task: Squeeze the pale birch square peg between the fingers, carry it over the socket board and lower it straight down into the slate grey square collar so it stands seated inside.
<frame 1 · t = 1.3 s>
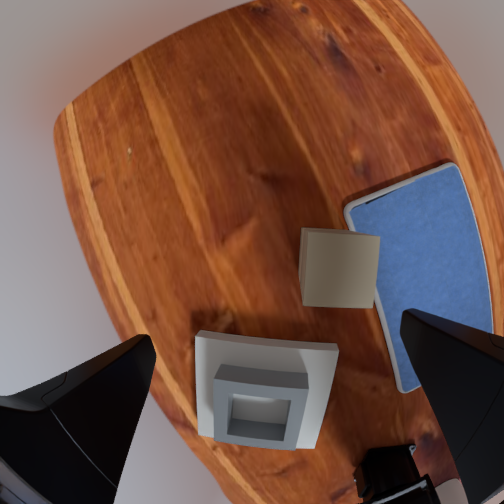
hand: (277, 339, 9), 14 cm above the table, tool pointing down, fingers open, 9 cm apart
socket board: (262, 393, 24), on the table
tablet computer: (433, 282, 21), on the table
peg: (322, 251, 22), on the table
cylindrical container: (440, 491, 23), on the table
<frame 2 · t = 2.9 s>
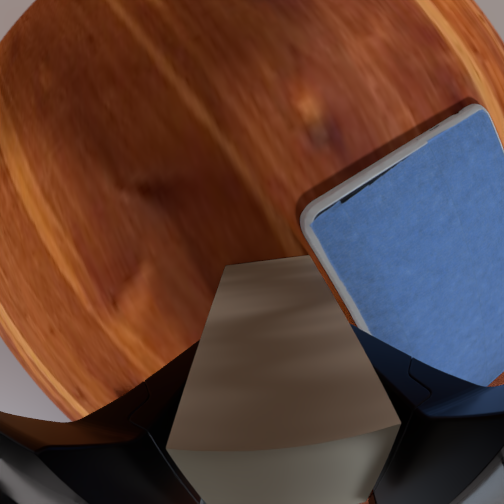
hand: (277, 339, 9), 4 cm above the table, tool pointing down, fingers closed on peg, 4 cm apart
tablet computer: (458, 298, 13), on the table
peg: (272, 298, 12), on the table, touching gripper
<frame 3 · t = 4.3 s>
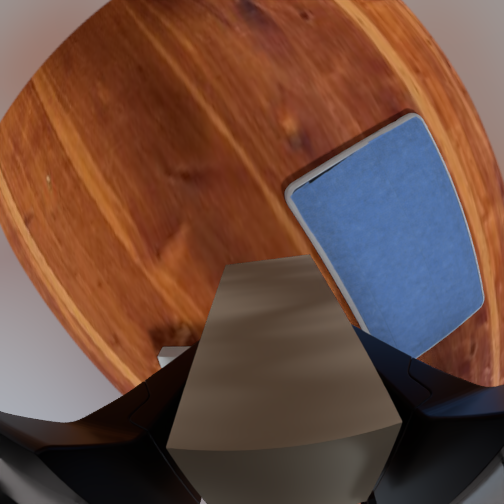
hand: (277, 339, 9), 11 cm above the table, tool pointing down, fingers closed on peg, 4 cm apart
socket board: (241, 395, 23), on the table
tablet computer: (407, 254, 20), on the table
peg: (272, 298, 12), point 7 cm above the table, touching gripper
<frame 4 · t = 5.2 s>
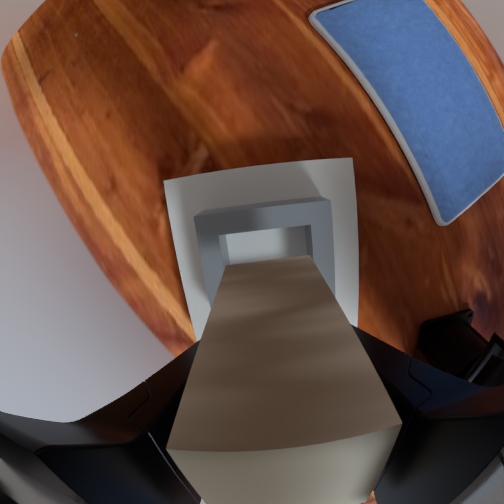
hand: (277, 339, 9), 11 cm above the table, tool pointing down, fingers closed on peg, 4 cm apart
socket board: (268, 253, 19), on the table
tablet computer: (430, 90, 16), on the table
peg: (272, 298, 12), point 7 cm above the table, touching gripper
when the fingers open (5 cm above the table, at t = 6.7 s): peg stays where it is, resting on socket board.
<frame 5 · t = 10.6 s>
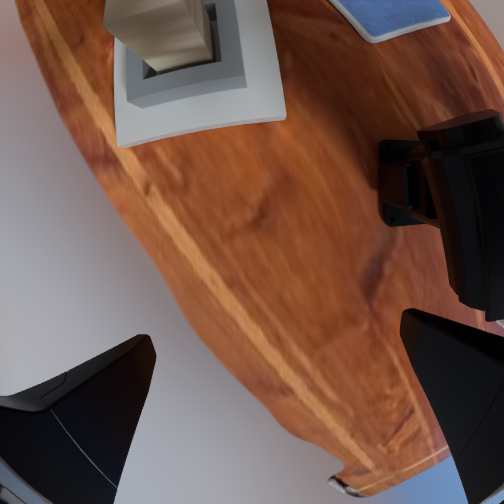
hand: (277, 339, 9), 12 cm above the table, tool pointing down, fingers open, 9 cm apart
socket board: (193, 59, 17), on the table
peg: (190, 53, 15), point 1 cm above the table, touching socket board
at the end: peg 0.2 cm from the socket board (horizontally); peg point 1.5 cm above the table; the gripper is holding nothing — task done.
